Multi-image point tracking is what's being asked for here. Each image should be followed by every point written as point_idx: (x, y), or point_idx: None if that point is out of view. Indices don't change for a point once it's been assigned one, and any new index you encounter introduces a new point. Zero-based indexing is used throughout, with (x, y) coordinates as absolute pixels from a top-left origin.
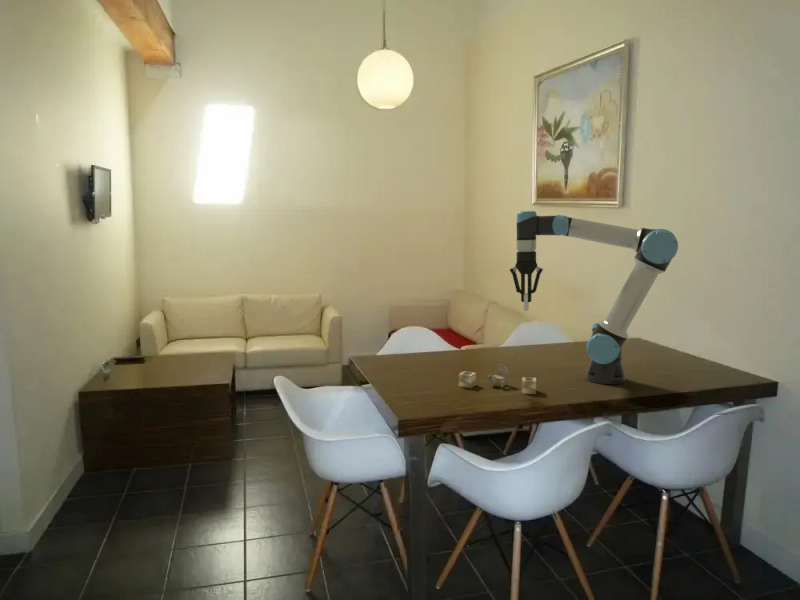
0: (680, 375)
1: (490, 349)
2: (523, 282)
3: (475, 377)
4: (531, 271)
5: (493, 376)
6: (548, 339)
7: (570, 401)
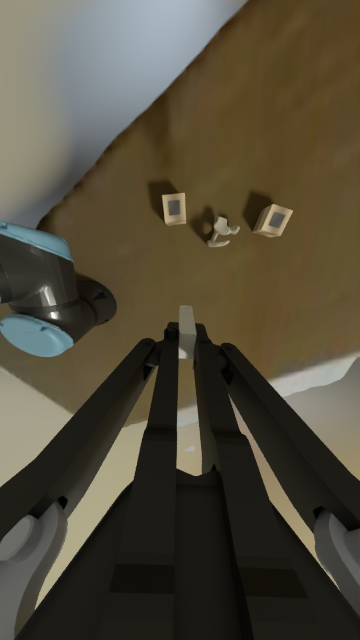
0: None
1: None
2: (208, 385)
3: (258, 229)
4: (116, 530)
5: (231, 229)
6: None
7: (111, 169)
